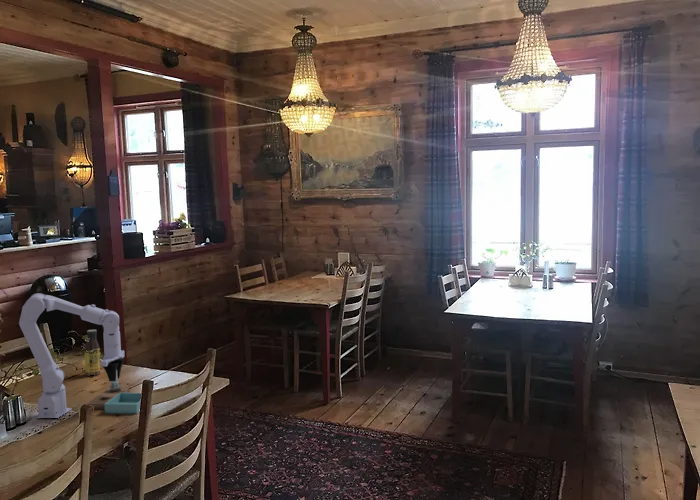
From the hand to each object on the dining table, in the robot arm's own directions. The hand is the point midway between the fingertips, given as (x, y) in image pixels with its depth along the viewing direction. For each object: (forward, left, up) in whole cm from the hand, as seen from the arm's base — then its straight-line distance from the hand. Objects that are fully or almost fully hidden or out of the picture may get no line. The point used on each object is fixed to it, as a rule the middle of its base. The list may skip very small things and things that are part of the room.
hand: (114, 379), depth 213 cm
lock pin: (0, 0, -3) cm, 3 cm away
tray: (-2, -6, -10) cm, 12 cm away
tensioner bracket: (+5, +5, -10) cm, 12 cm away
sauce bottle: (+36, +28, -10) cm, 47 cm away
